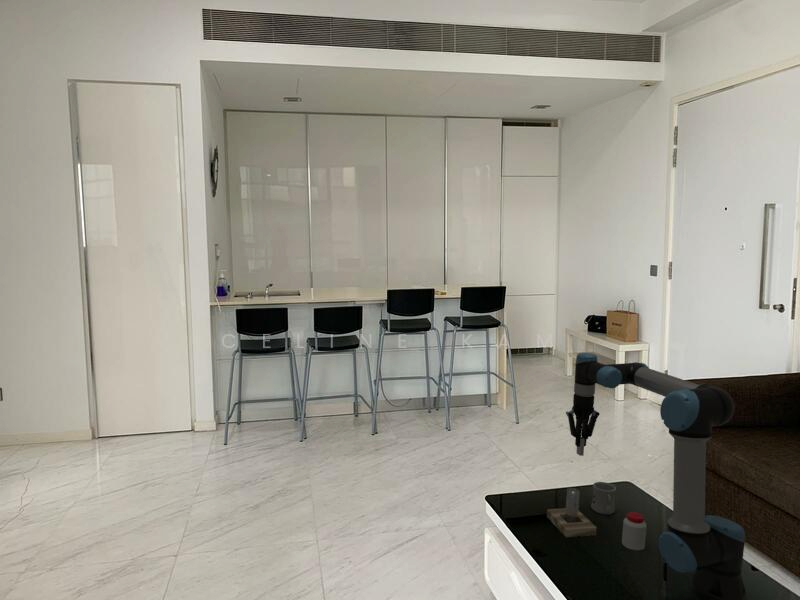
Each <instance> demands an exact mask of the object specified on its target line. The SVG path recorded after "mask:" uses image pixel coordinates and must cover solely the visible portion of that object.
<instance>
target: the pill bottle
mask: <svg viewBox="0 0 800 600" xmlns="http://www.w3.org/2000/svg"><path fill="white" fill-rule="evenodd" d="M644 518H645V517H644V515H643V514H641V513H639V512H635V511H629V512H627V513H626V517H625V518H624V519H623V522H622V523H623V524H622V533H621V544H622V545H623V547H625V548H627V549H629V550H632V551H642V550H645V548H646V537H647V536H646V535H647V526H648V525H647V522H646V521H645V519H644Z"/></svg>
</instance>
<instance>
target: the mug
mask: <svg viewBox="0 0 800 600" xmlns="http://www.w3.org/2000/svg"><path fill="white" fill-rule="evenodd" d="M616 491H617V487H616V485H614V484H612V483H610V482H605V481H595V482H594V483H593V484H592V498H591V499H592V500H591V505H590V507H591V510H593V511H594V512H596V513H598V514H601V515H612V514H614V513H615V511H616V503H615V501H616Z"/></svg>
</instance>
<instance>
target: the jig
mask: <svg viewBox="0 0 800 600" xmlns="http://www.w3.org/2000/svg"><path fill="white" fill-rule="evenodd" d="M565 512H566V507H563V508H552V509H551V508H549V509H546V517H547V519H548V520H549V521H550V522H551V523H552V524H553V525H554V527H556V529H558V531H559V532H560V533H561V534H562V535H563V536H564V537H565V538H577V537H578V536H580V537H591V535H592V537H593V535H594V536H597V528H598V527H597V526H596V525H594V523H593V522H591V520H590V519H589V518H587V516H586V515H585V514H583V513H582V512H581V511H580V510H578V522H575V523H567V522H566V521H565Z"/></svg>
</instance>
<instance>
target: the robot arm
mask: <svg viewBox="0 0 800 600" xmlns="http://www.w3.org/2000/svg"><path fill="white" fill-rule="evenodd" d="M574 365H575V371H574V386H573V392H574V393H573V399H572V400H573V401H572V404H573V405H572V407H571V410H569V411H566V412H565V414H566V416H567V418H568V424H569V432H570V435H571V436H572V437H573V438H575V441H574V442H575V446H576V454H577V455H578V456H580V457H581V456H583V457H584V453H585V451H584V450H585V447H586V446H587V440H588V439H589V438H591V437H592V436H593V433H594V429H595V426H596V423H597V419H598V417H599V416H600V412H599V411H597V410H595V407H594V405H595V394H596V385H599V386H601V387H603V388H608V389H615V388H617V387H619V386H620V385H633V386H634V387H635V386H636V387H638V388H641V389H644V390H646V391H649V392H650V393H651V392H652V393H653V394H656V395H660V396H662V397H664V398H663V399H662V401H661V404H660V409H659V410H660V413H659V414H660V418H661V420H662V421H663V425H664V426H665V427H666V428H667V429H668V434H669V435H670V437H672V438H673V489H672V490H673V496H672V497H673V498H672V499H673V501H672V505H673V506H672V516H671V517H670V518H668V519H667V529H666V530H667V531H663V532H662V533H661V534H660V535H659V537H658V548H659V552H660V554H661V557H662V558H663V559H664V561H665V562H666V564H667V565H668V566H669V567H670V568H671V569H673V570H674V571H676V572H678V573H693V574H692V575H691V577H690V588H691V590H692V591H693V592H694V593H695V594H696V596H698V597H700V598H701V599H703V600H746V597H747V592H746V588H745V585H744V579H743V576H742V571H743V570H742V568H743V560H744V551H745V543H746V532H745V529H744V528H743V526H741V525H740V524H739V523H737V522H735V521H734V520H731V519H729V518H725V517H722V516H718V515H706V469H707V468H706V465H707V463H706V462H707V461H706V460H707V457H706V456H707V453H706V452H707V451H706V450H707V442H708V441H709V440H710V439H712V438H713V434H712V433H713V427H720V426H722V425H724V424H726V423H728V422H729V421H730V420H731V419H732V417H734V413H735V402H734V399H733V398H732V396H731V395H730V394H729V393H728V392H727V391H726V390H724V389H723V388H720V387H718V386H714V385H711V384H708V383H701V384H697V383H694V382H692V381H689V380H685V379H682V378H679V377H676V376H674V375H670V374H667V373H664V372H661V371H657V370H655V369H651V368H649V366H648V365H647V364H646V363H644V362H638V361H637V362H625V363H613V364H612V363H610V364H609V363H607V364H604V363H600V362H598V356H597V355H596V354H594V353H590V352H580V353H579V352H578V354H577V355H576V359H575V364H574ZM574 416H575V418H574Z"/></svg>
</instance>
